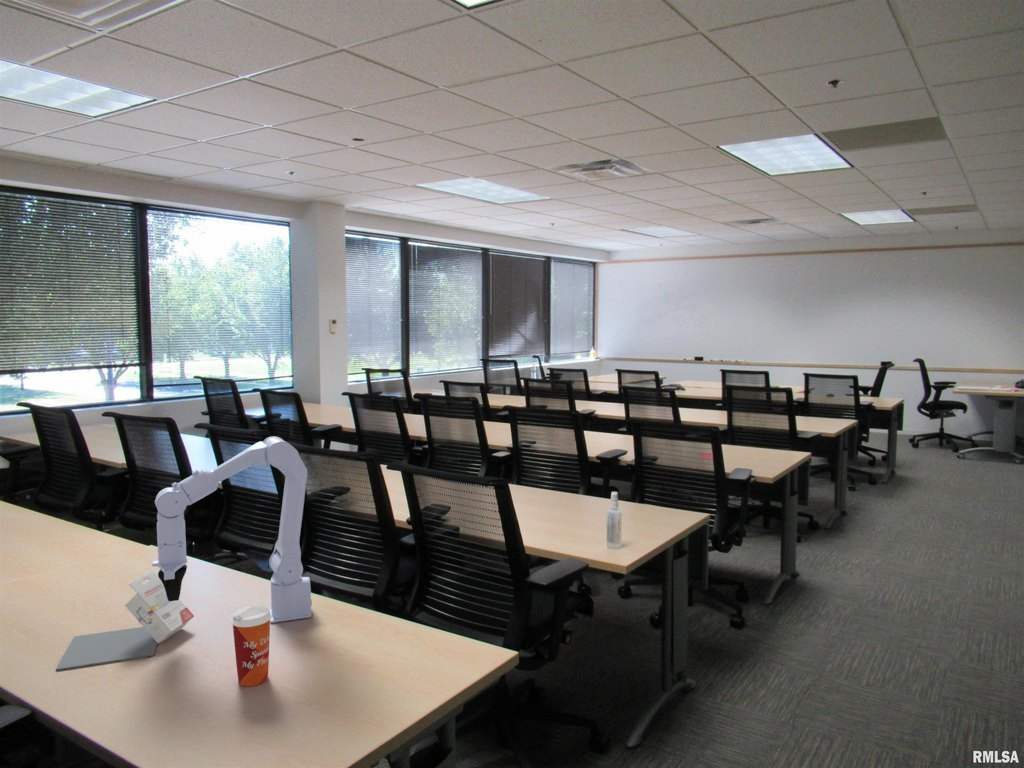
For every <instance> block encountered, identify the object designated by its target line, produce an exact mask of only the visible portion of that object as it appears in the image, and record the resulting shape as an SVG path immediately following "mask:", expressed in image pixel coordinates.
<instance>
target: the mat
mask: <svg viewBox="0 0 1024 768" xmlns="http://www.w3.org/2000/svg"><path fill="white" fill-rule="evenodd" d="M156 646H158V643H157V642H156V641H155V640H154V638H153V637H152V636H151V635H150V634H149V633H148V632H147V630H146V629H145V628H144V627H143V626H139V627H133V628H126V629H118V630H111V631H104V632H97V633H89V634H88V633H87V634H81V635H75V636H73V638H72V640H71V642H70V643H69V645H68V647H67V649H66V651H65V652H64V653H63V656H62V657H61V658H60V660H59V663H58V665H57V666H56V668H55V671H56V672H58V670H59V671H64V669H66V670H71V669H72V668H73V669H77V668H78V667H79V668H84V667H83V666H86V667H90V666H89V665H92V666H98V665H97V664H99V665H103V664H104V665H105V664H110V663H109V662H112V663H116V662H115V661H118V662H122V661H121V660H125V661H130V660H129V659H132V660H135V658H138V659H143V657H145V658H150V657H149V656H151V657H154V656H155V654H156V649H157V647H156ZM154 653H155V654H154Z"/></svg>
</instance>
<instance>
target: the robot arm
mask: <svg viewBox="0 0 1024 768" xmlns="http://www.w3.org/2000/svg"><path fill="white" fill-rule="evenodd" d="M267 462H268V463H269V465H271V466H272V467H274V468H276V469H278V471H280V472H281V473H282V474H283V475H284V477H285V478H284V486H283V487H284V488H283V495H282V505H281V512H280V520H279V529H278V537H277V540H276V542H275V544H274V549H273V552H272V553H271V555H270V556H269V560H268V561H269V562H268V565H269V568H270V569H271V571H273V573H272V576H271V578H270V599H271V603H270V605H271V608H270V609H269V612H270V613H271V615H272V618H271V619H270V624H271V623H272V624H273V623H280V622H287V621H292V620H293V621H294V620H302V619H307V618H311V617H312V607H313V605H312V604H313V602H312V594H311V593H312V591H311V590H312V588H311V580H310V577H309V576H302V575H303V572H304V567H303V564H302V560H301V558H302V552H301V546H300V539H301V538H300V537H301V532H302V531H301V529H302V521H303V514H304V505H305V495H306V488H307V480H308V469H307V467H306V465H305V463H304V462H303V460H302V458H301V456H300V454H299V451H298V450H297V449H296V448H295V447H294V445H292V444H290V443H289V442H287V441H285V440H284V439H283V438H282V437H279V436H275V435H274V436H269V437H266V438H265V439H264V440H263V441H261V440H260V441H257V442H255V443H254V444H253V445H251V446H249V447H247V448H246V449H244V450H243V451H241V452H240V453H239V452H238V454H236V455H234V456H233V457H232V458H230V459H228V460H226V461H225V462H223V463H221V464H219V465H218V466H216V467H214V469H205V468H203V469H201V470H198V469H195V470H193V471H192V472H191V473H192V475H190V476H188V477H186V478H184V479H183V480H181V481H179V482H176V481H175V482H173V483H171V486H170V487H165V488H163V489H161V490H160V491H159V492H158V493H157V495H155V496H156V497H155V500H154V504H155V507H156V509H157V514H156V519H157V522H156V534H157V535H156V536H157V537H156V540H157V541H156V543H157V560H153V561H152V567H158V568H159V571H158V572H157V575H158V577H159V579H160V580H161V581H162V583H163V585H164V588H165V591H166V595H167V598H168V601H177V600H179V599H180V596H181V591H182V584H183V579H184V577H185V575H186V572H187V569H188V565H187V563H188V556H187V538H186V537H187V536H186V520H185V516H184V515H185V511H186V509H187V506H191V505H193V504H195V503H196V502H198V501H200V500H201V499H204V498H205V497H206V496H209V495H210V494H212V493H214V492H215V491H217V490H218V485H219V484H220V483H221V482H223V481H224V480H226V479H228V478H231V477H233V476H234V475H236V474H237V473H240V472H242V471H243V470H245V469H247V468H249V467H252V466H255V467H256V466H257V467H267Z"/></svg>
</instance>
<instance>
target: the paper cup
mask: <svg viewBox="0 0 1024 768" xmlns="http://www.w3.org/2000/svg"><path fill="white" fill-rule="evenodd" d="M269 610H270V609H269V607H266V606H263V605H250V606H245V607H241V608H240V609H237V610H236V611H234V613H233V614H232V617H231V619H230V624H231V625H232V629H233V630H232V631H233V641H234V642H233V643H234V652H235V663H236V665H235V666H236V673H237V681H238V684H239V685H240V686H241V687H249V688H250V687H255V686H260V685H261V684H263V683H265V682H266V681H267V680H268V677H269V666H270V665H269V662H270V659H269V658H270V632H271V631H270V629H271V622H270V619H271V618H272V615H271V613H270V611H269Z"/></svg>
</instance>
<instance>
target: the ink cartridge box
mask: <svg viewBox="0 0 1024 768" xmlns="http://www.w3.org/2000/svg"><path fill="white" fill-rule="evenodd" d="M143 580H145V581H146V580H148V581H146V582H143ZM142 582H143V583H142ZM128 585H129V587H131V588H132V589H133V590H134V591H135V592H136V594H135V595H134V596H133V597H131V599H130V600H129V601H128V602H127V603H126V604H125V605H124V607H125V608H126V609H127V610H128V611H129V612H130V613H131V615H132V616H134V618H135V619H136V621H138V622H139V624H140V625H141V627H144V628H145V629H146V630H147V632H148V633H149V634H150V635H151V636H152V637H153V638H154V640H155V641H156V642H157V645H159V644H161V643H162V642H164V641H166V640H167V639H168V638H170V637H171V636H172V635H173V636H174V634H175V633H177V632H178V631H180V630H182V629H183V628H184V627H185V626H186V625H187V624H188V623H189V622H190V621H191V620H192V619H193V618H194V617H195V615H194V613H192V612H191V610H189V608H188V607H187V606H186V605H185V603H184V602H183V601H182V600H181V599H180V598H179V600H177V601H168V598H167V595H166V591H165V588H164V585H163V583H162V581H161V580H160V579H159V577H158V573H156V572H154V571H152V570H151V571H149V572H148V573H145V574H144V575H142V576H140V577H138V578H136V579H134V580H132V581H130V582H129V583H128Z"/></svg>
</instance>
